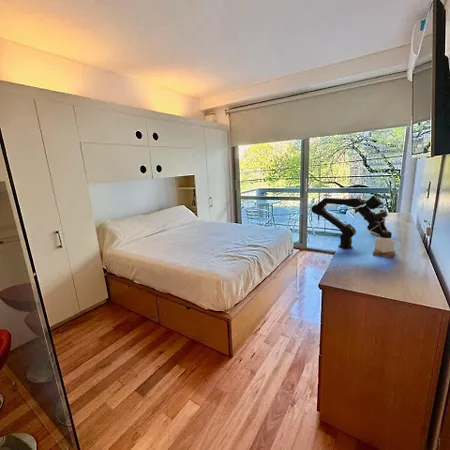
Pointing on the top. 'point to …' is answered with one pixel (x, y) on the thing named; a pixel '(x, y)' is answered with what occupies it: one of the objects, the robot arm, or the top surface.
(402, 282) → the top surface
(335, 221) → the robot arm
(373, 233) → the skincare box
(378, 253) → the walnut block
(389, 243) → the medicine bottle
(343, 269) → the top surface
